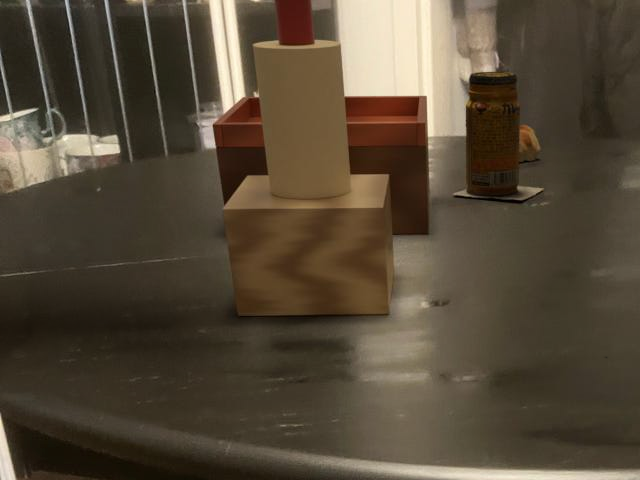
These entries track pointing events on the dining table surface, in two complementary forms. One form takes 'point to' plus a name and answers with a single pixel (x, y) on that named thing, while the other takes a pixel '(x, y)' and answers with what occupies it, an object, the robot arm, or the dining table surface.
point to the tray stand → (363, 144)
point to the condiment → (493, 138)
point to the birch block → (311, 250)
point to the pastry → (528, 144)
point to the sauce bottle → (302, 108)
